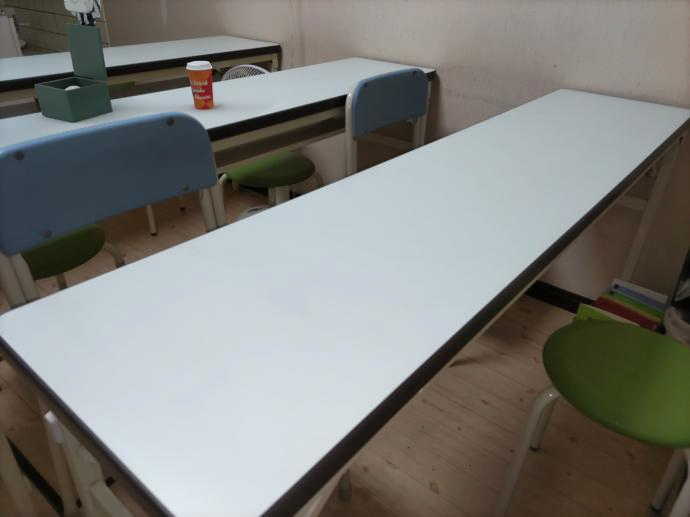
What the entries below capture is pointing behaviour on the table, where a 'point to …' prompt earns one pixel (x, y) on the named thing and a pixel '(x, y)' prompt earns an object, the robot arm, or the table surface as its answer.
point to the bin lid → (86, 51)
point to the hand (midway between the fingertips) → (90, 38)
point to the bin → (73, 99)
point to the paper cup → (201, 84)
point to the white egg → (72, 87)
